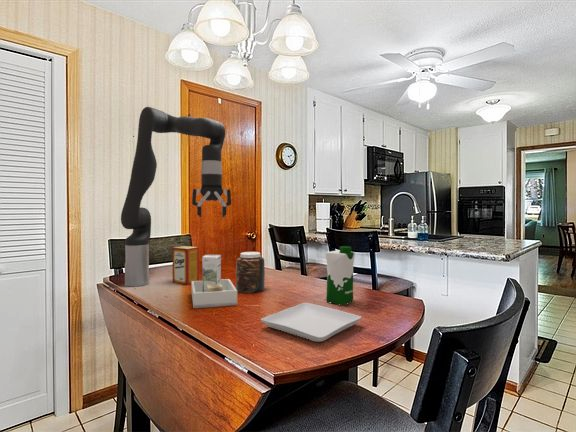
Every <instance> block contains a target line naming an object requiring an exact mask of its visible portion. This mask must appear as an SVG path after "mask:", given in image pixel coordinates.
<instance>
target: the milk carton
mask: <svg viewBox="0 0 576 432" xmlns="http://www.w3.org/2000/svg"><path fill="white" fill-rule="evenodd" d="M355 256H356V252H355V251H352V246H349V245H348V246H347V245H342V246H339V250H338V249H337V250H331V251H326V252H325V257H326V299H325V301H327V302H326V303H328V302H331V303H330V304H333V303H335V304H334V305H337V304H340V305H339V306H342V305H344V306H346V305H345V304H347V303H349V304H350V302H351V303H353V302H354V263H355V262H354V261H355ZM352 301H353V302H352ZM347 305H348V304H347Z"/></svg>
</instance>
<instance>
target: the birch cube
mask: <svg viewBox="0 0 576 432" xmlns="http://www.w3.org/2000/svg"><path fill="white" fill-rule="evenodd" d="M216 291H223V287H222V285H221V284H213V285H207V292H216Z"/></svg>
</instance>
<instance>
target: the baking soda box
mask: <svg viewBox="0 0 576 432" xmlns="http://www.w3.org/2000/svg"><path fill="white" fill-rule="evenodd" d="M199 250H200V249H199V246H198V247H197V246H192V245H191V246H188V245H187V246H186V245H181V246H175V247H172V283H174V284H178V285H184V286H190V285H191V281H200V279H199V277H200V276H199V275H200V272H199V271H200V267H199V263H200V262H199V259H200V258H199V254H200V253H199Z"/></svg>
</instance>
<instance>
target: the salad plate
mask: <svg viewBox="0 0 576 432" xmlns="http://www.w3.org/2000/svg"><path fill="white" fill-rule="evenodd" d="M361 319H362V316H361V315H357V314H354V313H350V312H346V311H343V310H339V309H336V308H331V307H327V306H322V305H319V304H315V303H310V302H302V303H300V304H297V305H294V306H291V307H288V308H286V309H283V310H280V311H278V312H274V313H272V314H269V315H267V316H264V317H261V319H260V321H261V322H262V323H263V324H264V325H266V326H267V327H270V328H272V329H275V330H278V331H280V330H281V332H283V331H284V333H286V332H287V334H289V333H290V335H292V334H293V336H296V335H297V336H296V337H299V336H300V337H299V338H302V337H303V338H302V339H305V338H306V340H308V339H309V340H308V341H312V342H314V343H315V342H316V343H321V342H324V341H326V340H328V339H329V338H331V337H333V336H335V335H337V334H339V333H340V332H343V331H344V330H346V329H349V328H350V327H353V326H354V325H356V324H357V323H359V321H360V320H361Z"/></svg>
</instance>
